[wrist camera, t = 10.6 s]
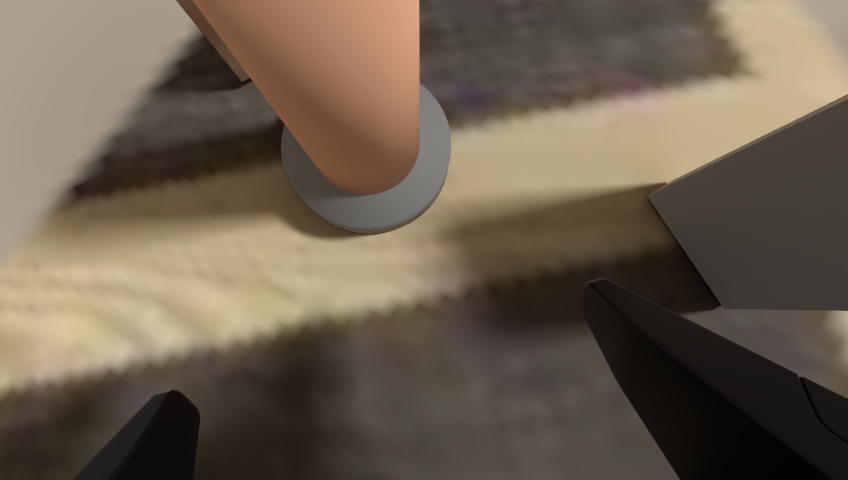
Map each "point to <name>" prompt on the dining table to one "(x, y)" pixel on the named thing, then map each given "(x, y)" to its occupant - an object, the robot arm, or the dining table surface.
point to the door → (213, 37)
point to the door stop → (344, 103)
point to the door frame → (770, 217)
